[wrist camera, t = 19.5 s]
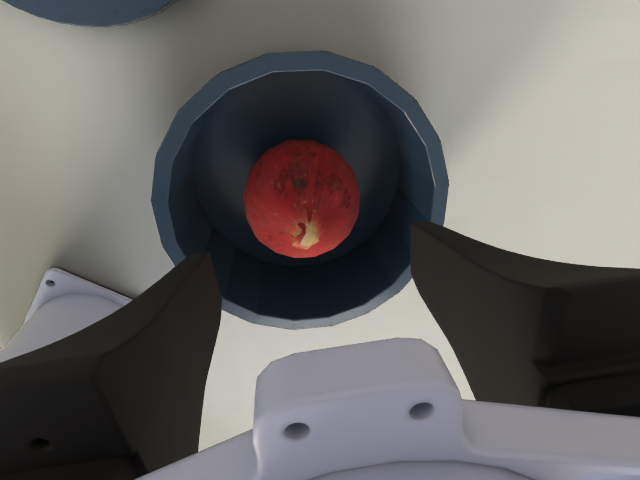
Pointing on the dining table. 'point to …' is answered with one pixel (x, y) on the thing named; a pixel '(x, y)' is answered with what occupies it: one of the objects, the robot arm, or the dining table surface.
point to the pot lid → (92, 10)
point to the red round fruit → (301, 198)
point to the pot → (272, 129)
